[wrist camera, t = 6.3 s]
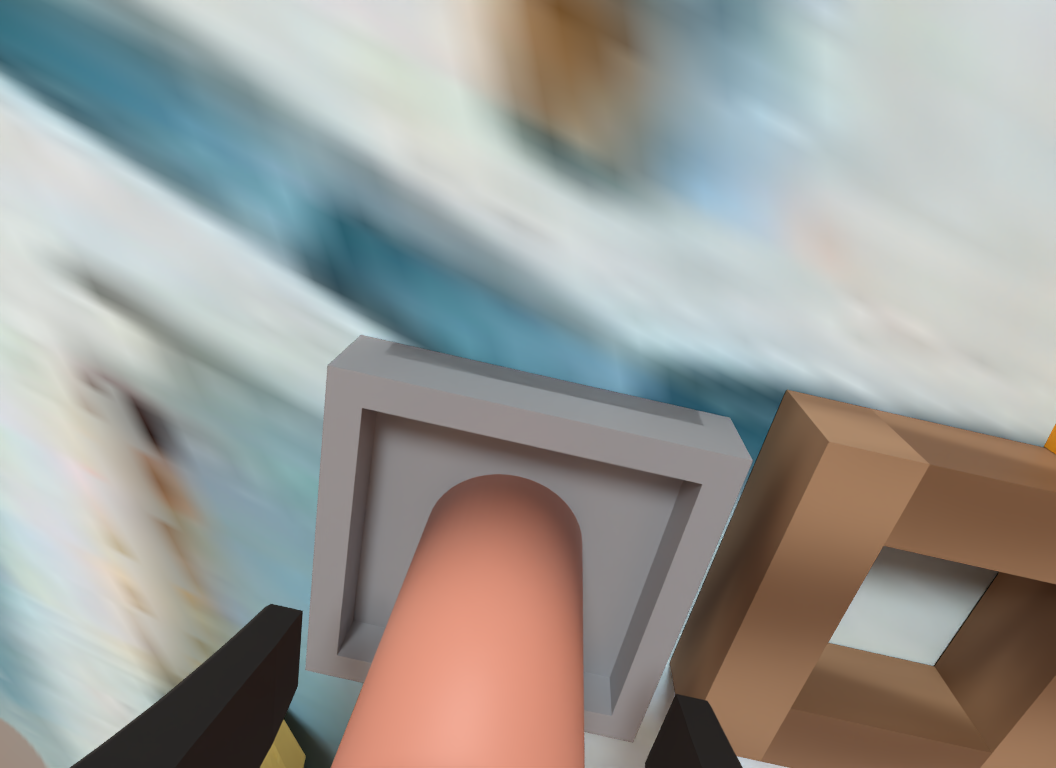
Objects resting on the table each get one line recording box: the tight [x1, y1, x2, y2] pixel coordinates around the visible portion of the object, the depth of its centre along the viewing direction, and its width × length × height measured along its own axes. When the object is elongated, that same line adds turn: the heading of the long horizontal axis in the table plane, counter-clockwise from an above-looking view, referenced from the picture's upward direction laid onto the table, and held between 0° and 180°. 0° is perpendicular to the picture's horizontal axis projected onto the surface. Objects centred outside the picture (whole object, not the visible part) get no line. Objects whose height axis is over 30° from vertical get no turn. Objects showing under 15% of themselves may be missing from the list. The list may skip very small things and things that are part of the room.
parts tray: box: [305, 335, 753, 742], centre depth 15 cm, size 9×9×2 cm
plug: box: [331, 474, 584, 768], centre depth 12 cm, size 4×4×7 cm
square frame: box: [670, 390, 1056, 768], centre depth 14 cm, size 9×9×2 cm
